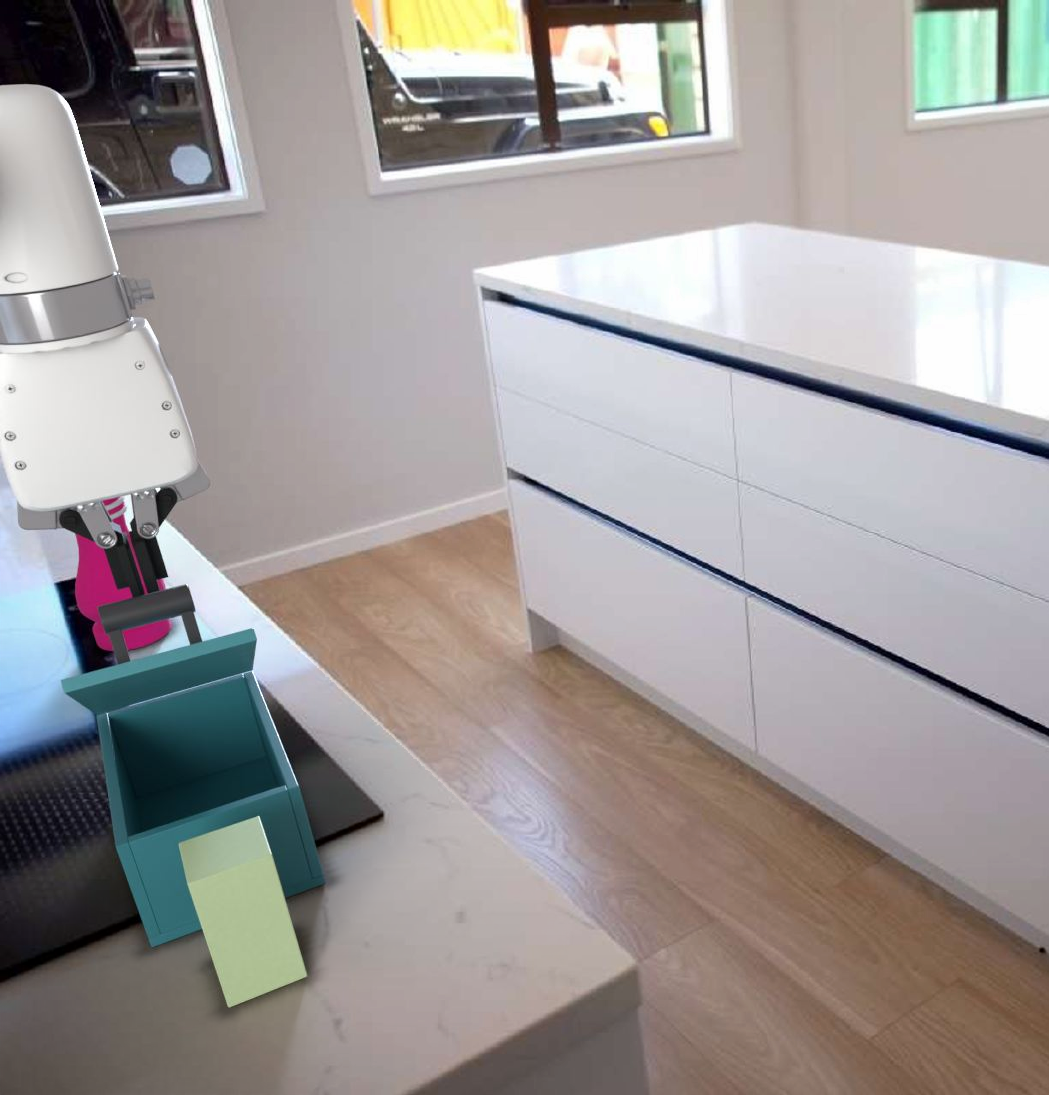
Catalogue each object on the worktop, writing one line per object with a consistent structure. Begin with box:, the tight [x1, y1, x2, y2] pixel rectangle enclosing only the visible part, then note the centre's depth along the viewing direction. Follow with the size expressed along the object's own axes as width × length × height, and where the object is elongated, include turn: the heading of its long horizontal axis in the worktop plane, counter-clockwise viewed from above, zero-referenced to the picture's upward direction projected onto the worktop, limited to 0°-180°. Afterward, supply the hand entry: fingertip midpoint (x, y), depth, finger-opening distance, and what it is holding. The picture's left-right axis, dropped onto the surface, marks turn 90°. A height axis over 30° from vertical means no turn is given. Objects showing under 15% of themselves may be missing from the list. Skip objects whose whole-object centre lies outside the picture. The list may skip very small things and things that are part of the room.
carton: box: [179, 816, 308, 1008], centre depth 73 cm, size 4×4×9 cm
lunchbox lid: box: [60, 583, 258, 716], centre depth 82 cm, size 18×10×5 cm, turn 31°
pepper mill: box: [74, 496, 172, 652], centre depth 112 cm, size 7×7×20 cm
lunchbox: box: [96, 670, 326, 948], centre depth 85 cm, size 18×10×8 cm, turn 31°
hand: (146, 592), depth 80 cm, fingers closed
